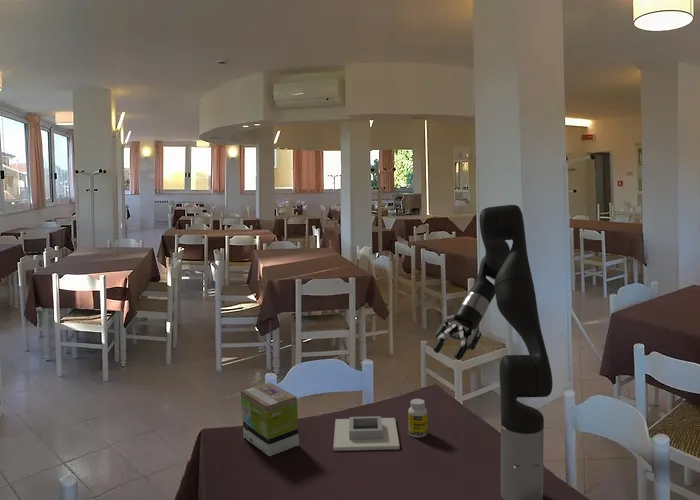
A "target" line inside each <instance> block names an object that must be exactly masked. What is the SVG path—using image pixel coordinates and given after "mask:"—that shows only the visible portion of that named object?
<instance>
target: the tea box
mask: <svg viewBox="0 0 700 500" xmlns="http://www.w3.org/2000/svg"><path fill="white" fill-rule="evenodd" d="M297 398H298V397H297V396H295V395H294V394H292V393H290V392H288V391H286V390H285V389H283V388H281V387H278V386H277V385H275V384H274V383H272V382H267V383H263V384H259V385H258V386H256V385H255V386H253V387H250V388H247V389H244V390H240V402H241V413H242V414H241V415H242V418H241V419H242V430H243V432H242V433H243V438H244V439H245V438H246V441H248V442H249V443H251V444H252V445H253V446H255V447H256V448H257V449H259V450H260V451H261V452H263V453H264V454H266V456H267V457H269V456H270V457H272V455H273V456H275V454H276V455H278V454H281V453H283V452H286V451H288V449H289V450H291V449H293V447H294V448H296V447H298V446H299V445H300V442H299V441H300V438H299V421H298V399H297ZM295 446H296V447H295ZM290 448H291V449H290ZM285 450H286V451H285ZM280 452H281V453H280ZM277 453H278V454H277Z"/></svg>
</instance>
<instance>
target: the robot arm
mask: <svg viewBox="0 0 700 500" xmlns="http://www.w3.org/2000/svg"><path fill="white" fill-rule="evenodd" d="M523 216H524V215H523V212H522V209H521V208H520V206H519V205H518V204H507V205H506V204H505V205H497V206H489V207H485V208H483V209H481V212H480V213H479V230H480V235H481V239H482V243H483V246H484V250H485V255H484V256H483V257H482V259H481V260H480V264H479V265H480V266H479V269H478V274H477V276H476V279H475V281H474V283H473V285H472V287H471V289H470V290H469V292H468V293H467V295H466V296H465V297H464V299H463V300H462V302H461V304H460V305H459V307H458V309H457V311H456V312H455V314H454V317H453V321H451V322H448V321H447V320H446V319H444V320H443V321H442V322H441V324H440V325H439V327H438V329H436V331H435V333H434V336H435V337H436V339H437V340H436V342H435V344H434V345H433V347H432V349H433V352H435V353H436V354H438V353H440V351H441V349H442V347H443V346H444V344H445V343H446V342H448V341H451V340H453V339H454V340H458V341H460V345H459V347H458V348H457V350H456V352H455V354H454V355H453V357H454V359H455V360H457V361H460V360H461V359H463V357H464V356H465V354H466V352H467V351H468V350H471V351H474V350H475V349H476V346H477V345H478V342H479V340H480V339H481V336H482V335H483V333H482V332H481V330H480V329H479V328H478V327H479V325H480V323H481V321H482V319H483V318H484V316H485V314H486V313H487V310H488V308H489V306H490V304H491V302H492V301H493V299H494V297H495V301H496V306H497V309H498V311H499V313H500V314H501V315H502V317H503V318H504V319H505V320H506V321H507V322H508V323H509V325H510V326H511V327H512V328H513V329H514V331H516V333H518V335H519V336H520V338H521V339H522V341H523V343H524V345H525V346H526V348H527V352H528V354H509V355H508V354H507V355H504V356H502V358H501V359H500V362H499V388H500V496H501V498H502V499H503V500H543V499H544V497H543V496H544V433H545V432H544V431H545V430H544V427H545V421H544V420H545V418H544V414H543V413H542V412H541V411H540V410H538V409H537V408H536V407H532V406H530V405H527V404H524V403H522V402H520V401H518V400H517V399H518V398H546V397H547V398H548V397H549V396H550V395H551V393H552V391H553V387H554V386H553V374H552V367H551V363H550V359H549V356H548V352H547V348H546V345H545V340H544V337H543V333H542V327H541V324H540V317H539V310H538V309H539V308H538V304H537V296H536V295H537V294H536V290H535V284H534V281H533V275H532V271H531V266H530V262H529V257H528V249H527V240H526V230H525V223H524V222H525V221H524V217H523ZM507 241H512V244H511V248H510V245H509V243H508V242H507ZM487 277H489V278H491V279H492V280H493V281H494V283H492V282H491V281H490V280H489V279H488V278H487Z"/></svg>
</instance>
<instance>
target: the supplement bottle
mask: <svg viewBox="0 0 700 500" xmlns="http://www.w3.org/2000/svg"><path fill="white" fill-rule="evenodd" d="M425 405H426V401H425V400H424V399H421V398H414V399H411V400H410V407H409V408H408V412H407V413H408V414H407V416H408V417H407V418H408V421H407V422H408V435H409V436H411V437H413V438H424V437H425V436H427V434H428V409H427V408H426V407H425Z"/></svg>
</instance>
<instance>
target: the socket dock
mask: <svg viewBox="0 0 700 500" xmlns="http://www.w3.org/2000/svg"><path fill="white" fill-rule="evenodd" d="M399 440H400V439H399V435H398V429H397V422H396V418H395V417H382V416H381V415H379V416H377V415H376V416H375V415H374V416H372V415H371V416H370V415H369V416H349V418H336V419H335V422H334V435H333V451H334V452H338V451H339V452H341V451H343V452H344V451H377V450H378V451H379V450H380V451H381V450H382V451H383V450H384V451H385V450H386V451H387V450H401V449H400V441H399Z"/></svg>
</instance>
